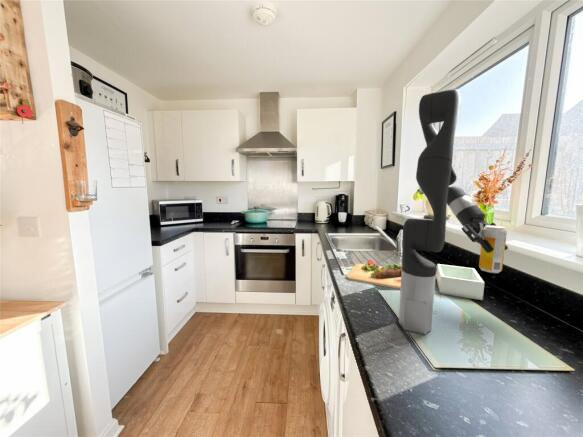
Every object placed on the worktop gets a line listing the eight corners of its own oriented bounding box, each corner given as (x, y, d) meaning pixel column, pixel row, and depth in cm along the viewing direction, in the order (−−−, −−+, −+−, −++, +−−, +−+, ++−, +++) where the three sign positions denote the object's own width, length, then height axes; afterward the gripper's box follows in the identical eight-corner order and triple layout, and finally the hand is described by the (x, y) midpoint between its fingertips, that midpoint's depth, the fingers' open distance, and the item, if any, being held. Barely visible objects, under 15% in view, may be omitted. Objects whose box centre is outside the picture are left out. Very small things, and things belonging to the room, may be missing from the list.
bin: (482, 300, 93) (484, 282, 92) (439, 293, 99) (441, 276, 98) (472, 283, 108) (474, 268, 108) (436, 278, 115) (437, 263, 114)
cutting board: (345, 280, 113) (345, 265, 112) (356, 266, 134) (356, 252, 133) (431, 296, 97) (433, 278, 96) (429, 277, 118) (430, 262, 117)
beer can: (491, 267, 85) (496, 225, 83) (506, 273, 79) (512, 228, 77) (474, 267, 85) (478, 225, 83) (488, 273, 79) (494, 228, 77)
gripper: (459, 204, 84) (492, 246, 75) (488, 204, 89) (523, 243, 79) (444, 218, 90) (473, 258, 80) (472, 216, 94) (503, 254, 85)
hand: (498, 250), depth 80 cm, fingers closed on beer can, 6 cm apart
